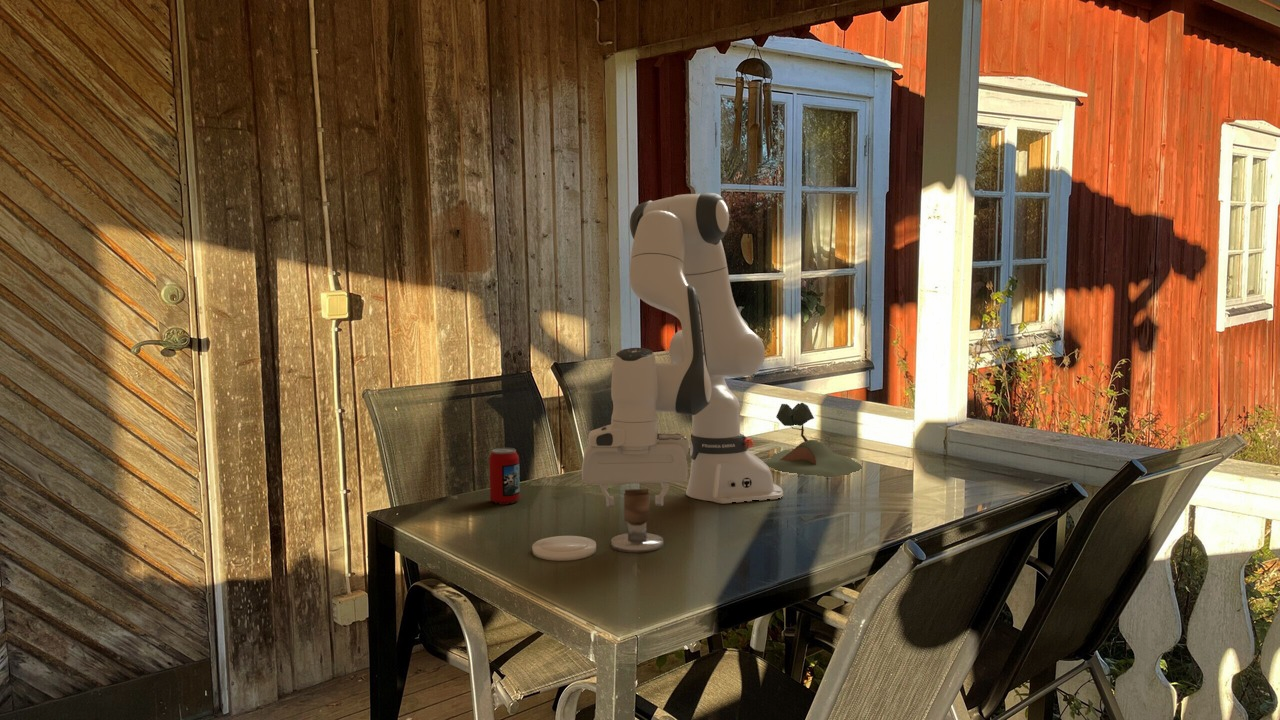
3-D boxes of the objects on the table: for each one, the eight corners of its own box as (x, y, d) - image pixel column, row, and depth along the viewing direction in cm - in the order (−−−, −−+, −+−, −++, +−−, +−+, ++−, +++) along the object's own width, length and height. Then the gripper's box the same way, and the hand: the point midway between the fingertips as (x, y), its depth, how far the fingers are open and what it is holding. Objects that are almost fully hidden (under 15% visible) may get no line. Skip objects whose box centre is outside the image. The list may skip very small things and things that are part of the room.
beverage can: (514, 505, 214) (513, 453, 213) (486, 504, 216) (484, 452, 215) (524, 498, 221) (522, 447, 220) (496, 497, 222) (495, 446, 221)
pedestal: (660, 536, 189) (659, 511, 188) (666, 551, 179) (665, 525, 178) (609, 538, 188) (609, 513, 187) (613, 553, 178) (612, 527, 177)
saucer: (594, 540, 186) (594, 533, 186) (597, 559, 175) (597, 551, 174) (533, 542, 185) (532, 535, 185) (531, 561, 173) (531, 554, 173)
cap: (648, 515, 185) (647, 486, 185) (650, 522, 181) (650, 492, 180) (623, 516, 185) (623, 487, 184) (625, 523, 180) (625, 493, 180)
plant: (788, 449, 278) (788, 389, 276) (894, 467, 252) (895, 400, 251) (722, 464, 258) (722, 399, 256) (829, 485, 233) (830, 413, 231)
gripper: (686, 430, 185) (686, 500, 186) (581, 432, 183) (581, 502, 185) (691, 436, 179) (690, 508, 180) (582, 437, 177) (582, 510, 178)
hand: (634, 505), depth 182 cm, fingers open, 8 cm apart
